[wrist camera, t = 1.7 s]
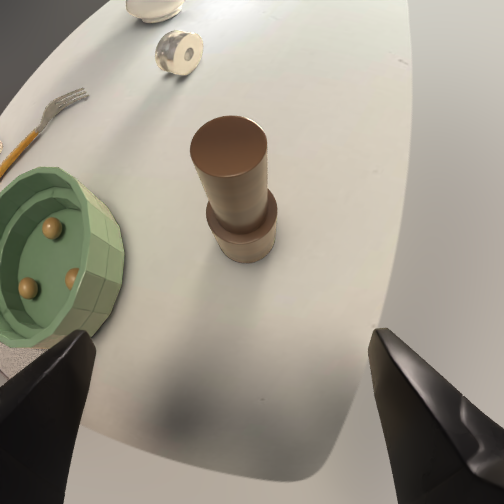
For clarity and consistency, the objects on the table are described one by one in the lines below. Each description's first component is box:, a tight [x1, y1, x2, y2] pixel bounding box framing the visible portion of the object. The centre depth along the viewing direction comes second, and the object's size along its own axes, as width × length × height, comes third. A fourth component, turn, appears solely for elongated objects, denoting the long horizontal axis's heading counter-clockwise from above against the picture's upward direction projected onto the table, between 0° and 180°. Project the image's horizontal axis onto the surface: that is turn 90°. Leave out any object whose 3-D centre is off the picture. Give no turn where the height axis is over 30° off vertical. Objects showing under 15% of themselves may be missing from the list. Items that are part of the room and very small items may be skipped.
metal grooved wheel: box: [155, 30, 203, 75], centre depth 27 cm, size 5×3×5 cm, turn 150°
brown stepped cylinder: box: [190, 116, 277, 263], centre depth 18 cm, size 4×4×12 cm
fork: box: [0, 88, 89, 178], centre depth 27 cm, size 2×2×20 cm
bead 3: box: [65, 268, 79, 291], centre depth 22 cm, size 2×2×2 cm
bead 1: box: [18, 277, 38, 300], centre depth 22 cm, size 2×2×2 cm
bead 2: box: [42, 217, 62, 240], centre depth 23 cm, size 2×2×2 cm
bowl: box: [0, 167, 125, 349], centre depth 21 cm, size 14×14×6 cm
